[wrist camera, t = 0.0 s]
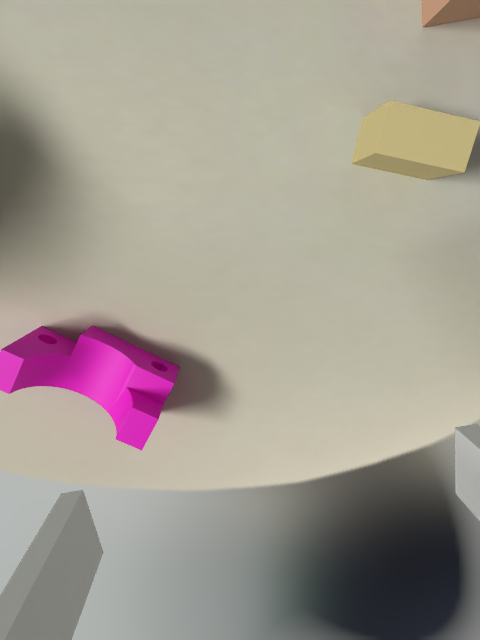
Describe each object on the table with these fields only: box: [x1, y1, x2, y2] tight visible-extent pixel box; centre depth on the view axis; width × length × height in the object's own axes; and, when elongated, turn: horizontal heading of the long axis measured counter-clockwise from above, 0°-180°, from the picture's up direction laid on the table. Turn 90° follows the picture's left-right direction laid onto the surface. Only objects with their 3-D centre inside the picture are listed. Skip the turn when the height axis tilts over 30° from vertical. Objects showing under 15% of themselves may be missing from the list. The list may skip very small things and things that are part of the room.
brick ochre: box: [351, 100, 480, 180], centre depth 33 cm, size 8×4×6 cm, turn 79°
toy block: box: [0, 326, 179, 450], centre depth 37 cm, size 15×6×8 cm, turn 62°
